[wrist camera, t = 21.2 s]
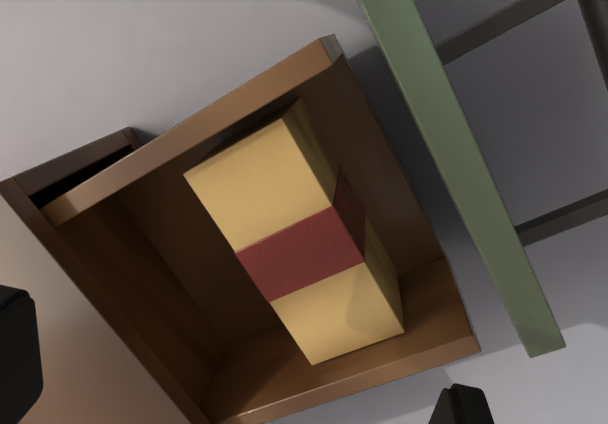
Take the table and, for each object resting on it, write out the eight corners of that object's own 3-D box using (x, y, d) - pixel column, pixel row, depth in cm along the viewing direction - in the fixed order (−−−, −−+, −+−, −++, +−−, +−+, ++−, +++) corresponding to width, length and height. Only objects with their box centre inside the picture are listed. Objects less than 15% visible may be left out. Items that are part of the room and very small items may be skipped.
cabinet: (129, 125, 21) (-7, 184, 14) (277, 339, 25) (238, 481, 18) (-77, 256, 26) (-265, 356, 18) (74, 419, 30) (-27, 557, 22)
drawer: (534, -113, 15) (652, -209, 9) (638, 197, 19) (774, 283, 13) (93, 162, 21) (-18, 218, 15) (235, 355, 25) (193, 464, 19)
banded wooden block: (220, 142, 19) (180, 174, 15) (302, 95, 18) (283, 116, 14) (321, 300, 22) (310, 367, 17) (398, 269, 20) (407, 332, 16)
